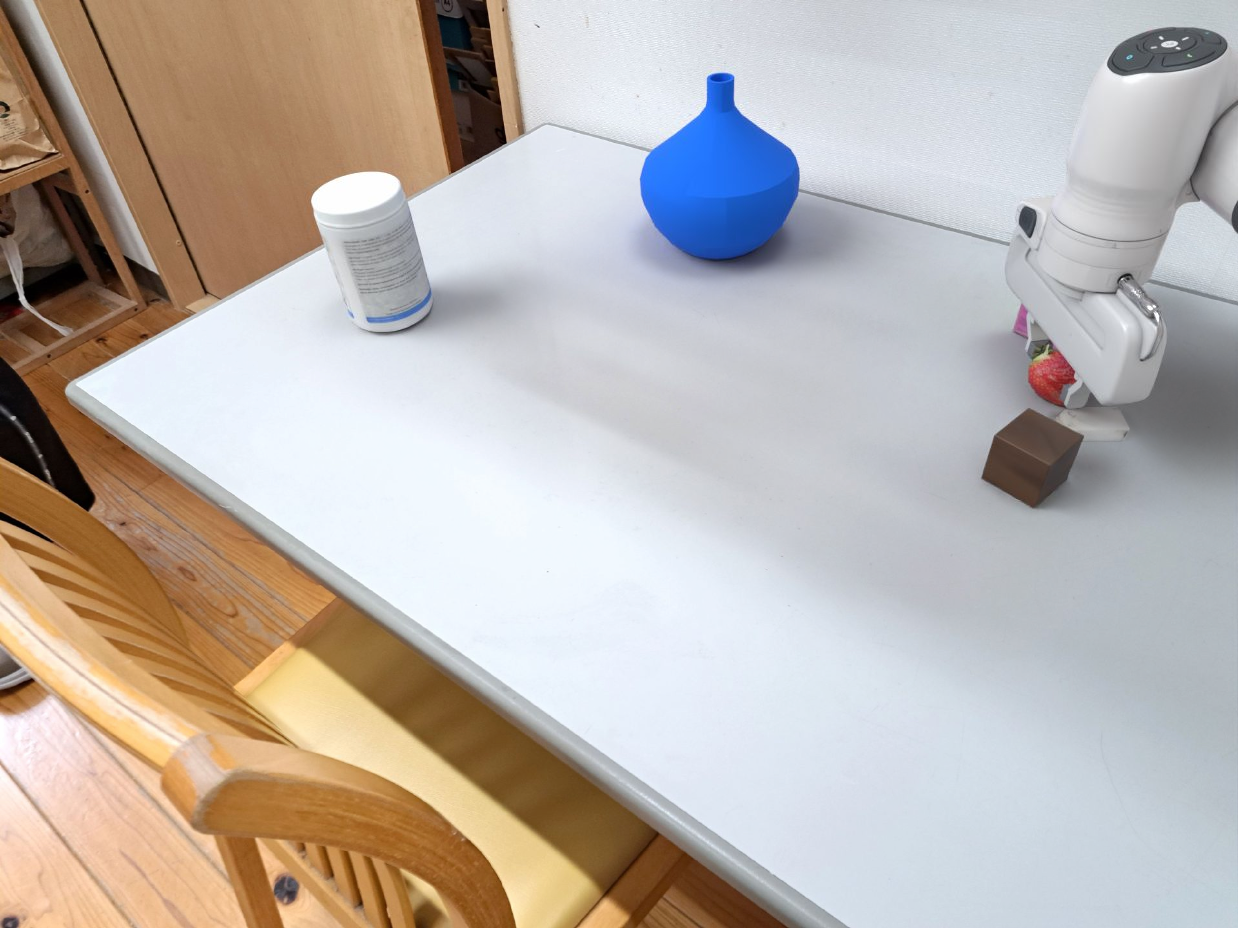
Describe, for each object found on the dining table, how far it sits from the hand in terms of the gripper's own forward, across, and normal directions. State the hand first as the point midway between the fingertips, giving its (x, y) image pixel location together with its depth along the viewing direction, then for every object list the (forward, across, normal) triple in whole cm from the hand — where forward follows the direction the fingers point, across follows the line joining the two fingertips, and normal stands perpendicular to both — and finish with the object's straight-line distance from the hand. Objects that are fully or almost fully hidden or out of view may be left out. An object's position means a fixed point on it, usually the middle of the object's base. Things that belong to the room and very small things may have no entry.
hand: (1052, 379), depth 82 cm
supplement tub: (+2, +26, +64) cm, 69 cm away
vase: (+2, +34, +25) cm, 43 cm away
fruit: (+2, 0, 0) cm, 2 cm away
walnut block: (+2, -10, +7) cm, 13 cm away
